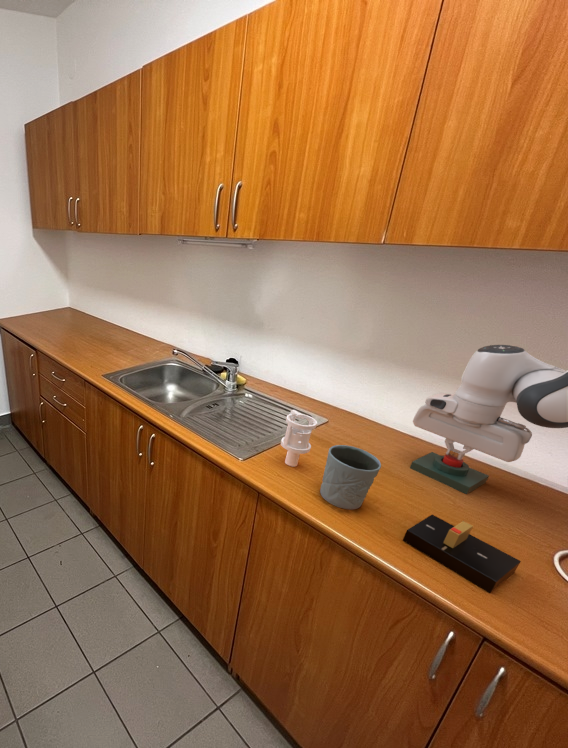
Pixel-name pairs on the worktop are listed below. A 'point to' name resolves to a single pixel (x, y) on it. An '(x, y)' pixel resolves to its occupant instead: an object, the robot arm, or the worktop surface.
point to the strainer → (297, 437)
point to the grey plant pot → (348, 476)
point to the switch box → (449, 473)
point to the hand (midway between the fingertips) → (453, 456)
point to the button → (452, 461)
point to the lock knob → (458, 534)
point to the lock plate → (462, 554)
